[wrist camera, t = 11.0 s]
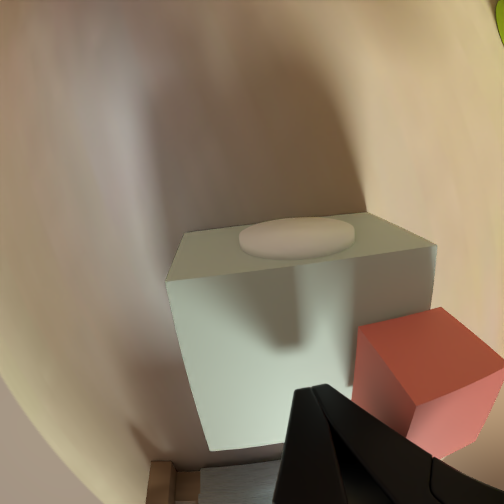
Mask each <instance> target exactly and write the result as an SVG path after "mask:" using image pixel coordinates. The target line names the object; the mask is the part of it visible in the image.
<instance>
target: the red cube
mask: <svg viewBox="0 0 504 504" xmlns="http://www.w3.org/2000/svg"><path fill="white" fill-rule="evenodd" d="M503 381H504V359H503V358H502V357H501V356H500V355H498V354H497V353H496V352H495V351H494V350H493V349H491V348H490V347H489V346H488V345H487V344H486V343H484V342H483V341H482V340H481V339H480V338H478V337H477V336H476V335H475V334H474V333H473V332H471V331H470V330H469V329H468V328H466V327H465V326H464V325H463V324H462V323H460V322H459V321H458V320H457V319H455V318H454V317H453V316H452V315H451V314H449V313H448V312H447V311H446V310H444V309H443V308H442V307H439V308H435V309H431V310H427V311H423V312H419V313H415V314H411V315H407V316H403V317H399V318H394V319H390V320H386V321H381V322H377V323H372V324H367V325H363V326H358V335H357V348H356V360H355V370H354V380H353V389H352V398H351V401H353V402H354V403H355V404H357V405H358V406H360V407H361V408H363V409H364V410H365V411H367V412H368V413H370V414H371V415H373V416H374V417H376V418H377V419H378V420H380V421H381V422H383V423H384V424H386V425H387V426H389V427H390V428H392V429H393V430H395V431H396V432H398V433H399V434H401V435H402V436H404V437H405V438H407V439H408V440H410V441H411V442H413V443H414V444H416V445H417V446H419V447H421V448H422V449H424V450H425V451H427V452H428V453H430V454H431V455H432V458H433V457H436V458H438V459H441V458H443V457H445V456H447V455H449V454H451V453H453V452H455V451H457V450H459V449H461V448H463V447H465V446H467V445H469V444H471V443H473V442H475V440H476V439H477V437H478V435H479V433H480V431H481V429H482V427H483V425H484V423H485V421H486V419H487V417H488V415H489V413H490V411H491V409H492V406H493V405H494V402H495V400H496V397H497V396H498V393H499V391H500V389H501V386H502V384H503Z"/></svg>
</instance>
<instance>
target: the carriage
mask: <svg viewBox="0 0 504 504" xmlns="http://www.w3.org/2000/svg"><path fill="white" fill-rule="evenodd" d="M280 462H281V460H275V461H269V462H262V463H254V464H246V465H237V466H226V467H214V468H200V494H198V504H272V498H273V494H274V489H275V485H276V480H277V476H278V471H279V466H280Z"/></svg>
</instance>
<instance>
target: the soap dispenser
mask: <svg viewBox="0 0 504 504" xmlns="http://www.w3.org/2000/svg"><path fill="white" fill-rule="evenodd" d="M496 20H497V26H498V30H499V33H500V36H501V39H502V42H503V45H504V0H499V1H498V3H497V6H496Z"/></svg>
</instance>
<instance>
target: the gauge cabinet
mask: <svg viewBox="0 0 504 504" xmlns="http://www.w3.org/2000/svg"><path fill="white" fill-rule="evenodd" d="M436 255H437V245H436V244H434V243H432V242H430V241H428V240H426V239H424V238H422V237H420V236H418V235H416V234H414V233H412V232H410V231H407V230H405V229H403V228H401V227H399V226H397V225H395V224H393V223H390V222H388V221H386V220H384V219H382V218H380V217H377V216H375V215H373V214H371V213H368V212H363V213H353V214H343V215H333V216H323V217H297V218H285V219H277V220H271V221H266V222H262V223H259V224H251V225H243V226H234V227H226V228H218V229H210V230H202V231H194V232H187V233H184V235H183V238H182V240H181V243H180V245H179V248H178V250H177V253H176V255H175V258H174V260H173V263H172V265H171V268H170V270H169V273H168V275H167V278H166V281H165V284H166V289H167V293H168V298H169V303H170V307H171V312H172V316H173V320H174V325H175V329H176V333H177V337H178V341H179V345H180V349H181V353H182V357H183V361H184V365H185V369H186V373H187V376H188V380H189V384H190V387H191V391H192V394H193V398H194V401H195V405H196V408H197V411H198V415H199V418H200V421H201V425H202V428H203V431H204V434H205V437H206V440H207V444H208V447H209V450H210V451H221V450H231V449H241V448H249V447H257V446H264V445H271V444H277V443H284V442H285V437H286V432H287V426H288V421H289V416H290V410H291V405H292V399H293V393H294V390H295V389H299V388H304V387H312V386H315V385H320V384H325V383H326V384H329V385H330V386H332V387H333V388H335V389H336V390H337V391H339V392H340V393H341V394H343V395H344V396H346V397H347V398H348V399H350V400H351V398H352V389H353V380H354V370H355V360H356V348H357V335H358V326H363V325H367V324H372V323H377V322H381V321H386V320H390V319H394V318H399V317H403V316H407V315H411V314H415V313H419V312H423V311H427V310H430V306H431V300H432V292H433V284H434V275H435V266H436Z"/></svg>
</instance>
